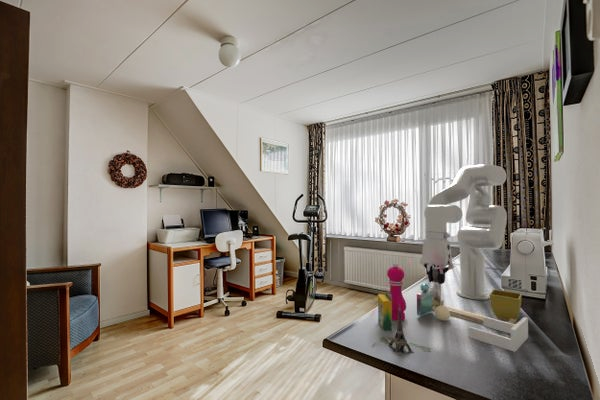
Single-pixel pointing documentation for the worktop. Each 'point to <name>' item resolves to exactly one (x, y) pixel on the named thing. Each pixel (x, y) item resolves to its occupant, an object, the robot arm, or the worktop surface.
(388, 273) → the pepper mill
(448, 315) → the ball
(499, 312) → the flower pot
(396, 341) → the eiffel tower figurine
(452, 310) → the oak rail
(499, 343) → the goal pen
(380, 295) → the crayon box
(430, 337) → the worktop surface
